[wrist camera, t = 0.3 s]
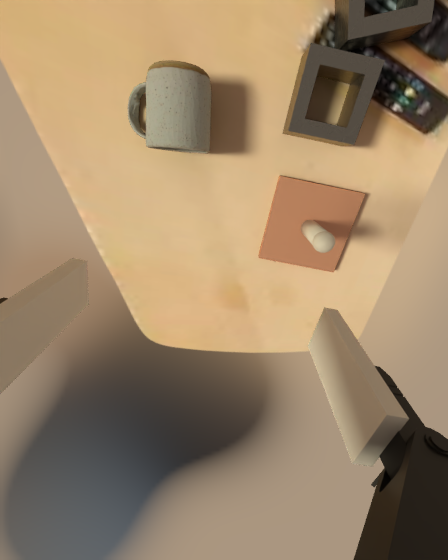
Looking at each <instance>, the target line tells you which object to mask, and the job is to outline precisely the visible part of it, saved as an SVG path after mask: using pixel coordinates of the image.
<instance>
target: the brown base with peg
mask: <svg viewBox="0 0 448 560" xmlns="http://www.w3.org/2000/svg"><path fill="white" fill-rule="evenodd" d="M364 196H365V194H364V193H361V192H356V191H351V190H346V189H341V188H337V187H332V186H327V185H322V184H317V183H313V182H308V181H303V180H298V179H293V178H289V177H284V176H279V179H278V183H277V187H276V191H275V194H274V198H273V202H272V206H271V210H270V213H269V217H268V221H267V225H266V229H265V232H264V236H263V240H262V244H261V248H260V251H259V255H258V256H259V258H262V259H267V260H273V261H278V262H283V263H288V264H293V265H299V266H304V267H309V268H314V269H319V270H324V271H330V272H334V270H335V267H336V265H337V262H338V260H339V258H340V255H341V253H342V250H343V248H344V245H345V243H346V240H347V238H348V236H349V233H350V231H351V228H352V226H353V223H354V221H355V218H356V216H357V214H358V211H359V209H360V206H361V204H362V201H363V199H364Z"/></svg>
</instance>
